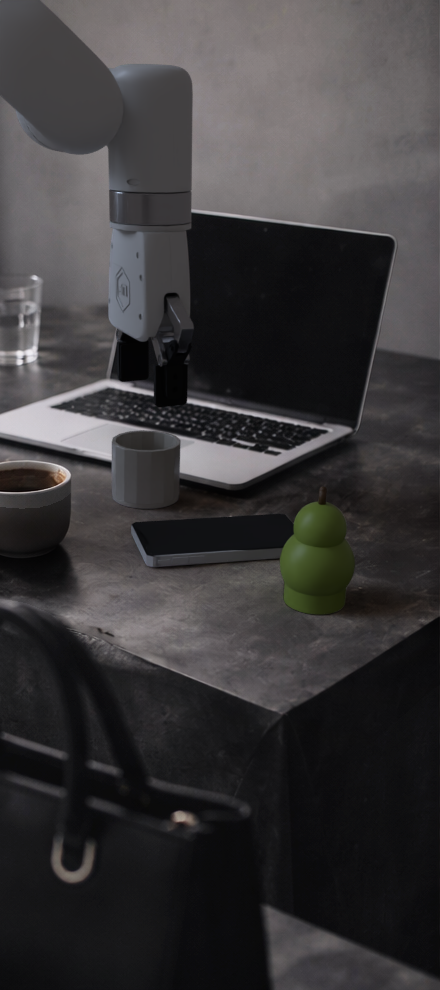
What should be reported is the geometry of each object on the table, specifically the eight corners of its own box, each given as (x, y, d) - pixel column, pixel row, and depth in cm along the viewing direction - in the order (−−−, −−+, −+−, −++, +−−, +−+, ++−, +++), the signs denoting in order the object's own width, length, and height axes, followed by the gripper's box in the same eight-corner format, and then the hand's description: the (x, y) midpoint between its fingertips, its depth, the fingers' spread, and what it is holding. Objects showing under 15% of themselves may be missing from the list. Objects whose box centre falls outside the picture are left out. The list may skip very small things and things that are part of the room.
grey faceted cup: (109, 507, 96) (109, 450, 94) (115, 483, 103) (115, 429, 101) (178, 510, 97) (179, 452, 94) (179, 485, 103) (181, 431, 101)
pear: (279, 616, 77) (288, 499, 73) (275, 582, 82) (282, 472, 79) (356, 619, 77) (367, 501, 73) (345, 585, 82) (356, 474, 79)
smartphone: (313, 546, 87) (147, 557, 83) (312, 558, 88) (147, 570, 83) (283, 512, 94) (130, 520, 90) (282, 523, 95) (130, 533, 91)
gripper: (81, 203, 95) (86, 374, 102) (147, 222, 81) (148, 420, 87) (153, 202, 98) (153, 368, 105) (228, 220, 84) (224, 411, 90)
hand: (151, 392), depth 96 cm, fingers open, 9 cm apart
